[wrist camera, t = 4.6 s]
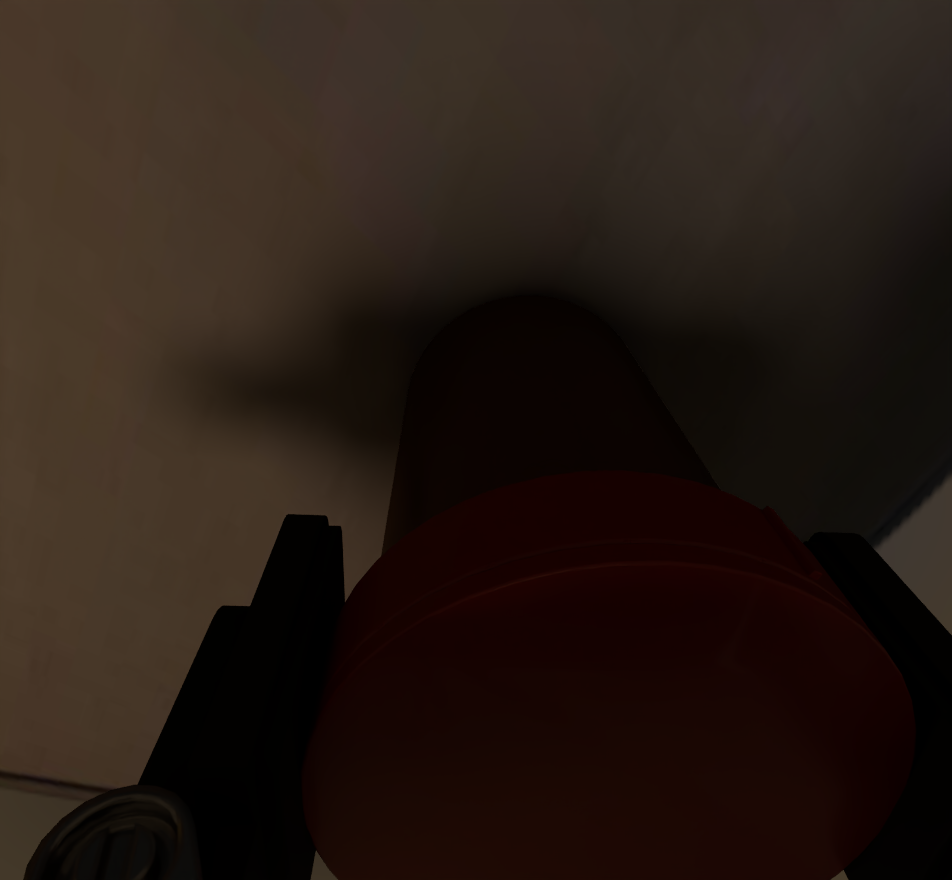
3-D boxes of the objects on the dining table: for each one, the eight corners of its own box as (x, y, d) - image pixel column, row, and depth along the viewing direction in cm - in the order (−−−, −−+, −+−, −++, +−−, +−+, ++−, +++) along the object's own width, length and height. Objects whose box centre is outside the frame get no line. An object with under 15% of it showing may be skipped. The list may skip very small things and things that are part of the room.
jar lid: (524, 349, 6) (544, 424, 5) (955, 621, 8) (1058, 731, 7) (238, 744, 9) (197, 867, 8) (617, 886, 11) (642, 1007, 9)
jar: (662, 301, 15) (921, 575, 7) (620, 512, 18) (767, 898, 9) (408, 286, 15) (345, 554, 6) (404, 503, 17) (355, 894, 9)
